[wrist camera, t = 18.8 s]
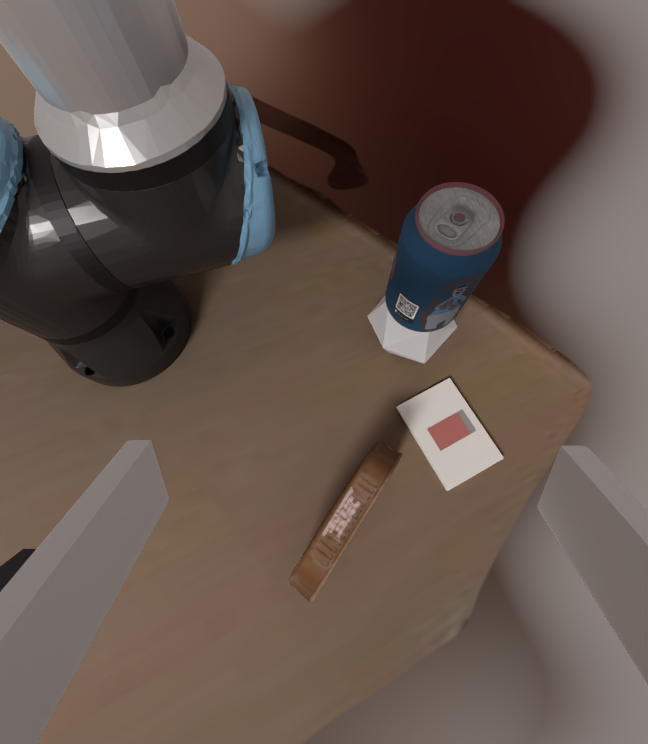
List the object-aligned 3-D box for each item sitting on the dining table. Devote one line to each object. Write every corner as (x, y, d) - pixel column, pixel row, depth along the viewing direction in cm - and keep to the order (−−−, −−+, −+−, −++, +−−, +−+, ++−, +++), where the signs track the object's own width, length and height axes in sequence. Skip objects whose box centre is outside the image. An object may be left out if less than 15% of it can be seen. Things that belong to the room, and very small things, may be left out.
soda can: (412, 262, 36) (448, 158, 24) (469, 302, 34) (535, 210, 22) (369, 308, 34) (384, 220, 23) (426, 351, 33) (473, 281, 21)
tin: (316, 589, 34) (309, 623, 26) (290, 568, 34) (276, 595, 26) (397, 459, 37) (414, 453, 29) (372, 442, 38) (382, 431, 30)
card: (395, 407, 39) (396, 406, 38) (448, 378, 40) (449, 377, 39) (446, 490, 36) (447, 491, 35) (502, 458, 37) (504, 458, 36)
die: (428, 299, 43) (390, 252, 37) (481, 330, 37) (449, 281, 31) (384, 349, 45) (341, 312, 38) (429, 387, 39) (387, 351, 32)
